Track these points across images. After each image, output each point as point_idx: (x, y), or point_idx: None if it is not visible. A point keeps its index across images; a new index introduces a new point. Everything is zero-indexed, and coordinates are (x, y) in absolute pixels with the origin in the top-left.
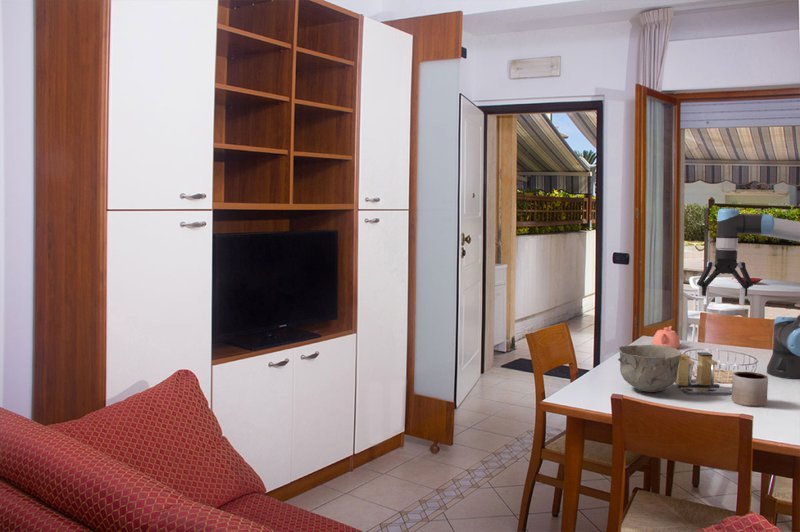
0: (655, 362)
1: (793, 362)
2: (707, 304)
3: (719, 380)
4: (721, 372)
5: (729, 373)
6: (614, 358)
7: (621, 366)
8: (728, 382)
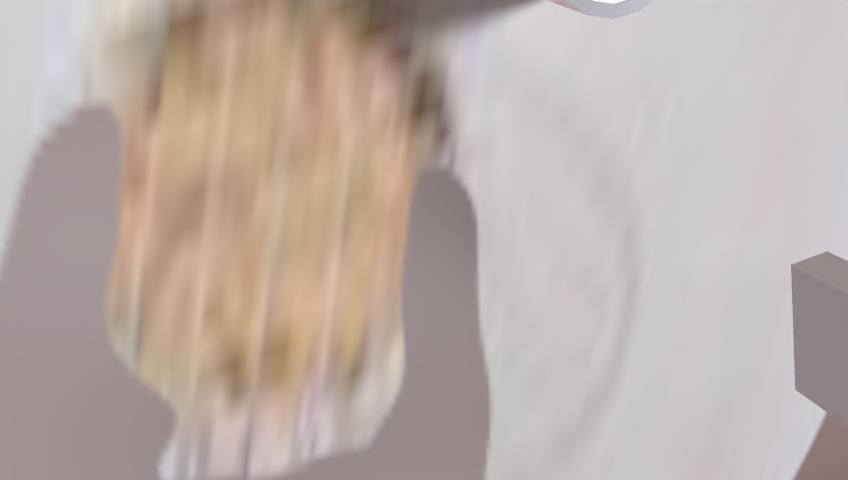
0: None
1: None
2: (814, 261)
3: (286, 52)
4: (244, 325)
5: (188, 316)
6: (814, 432)
7: None
8: (223, 3)
